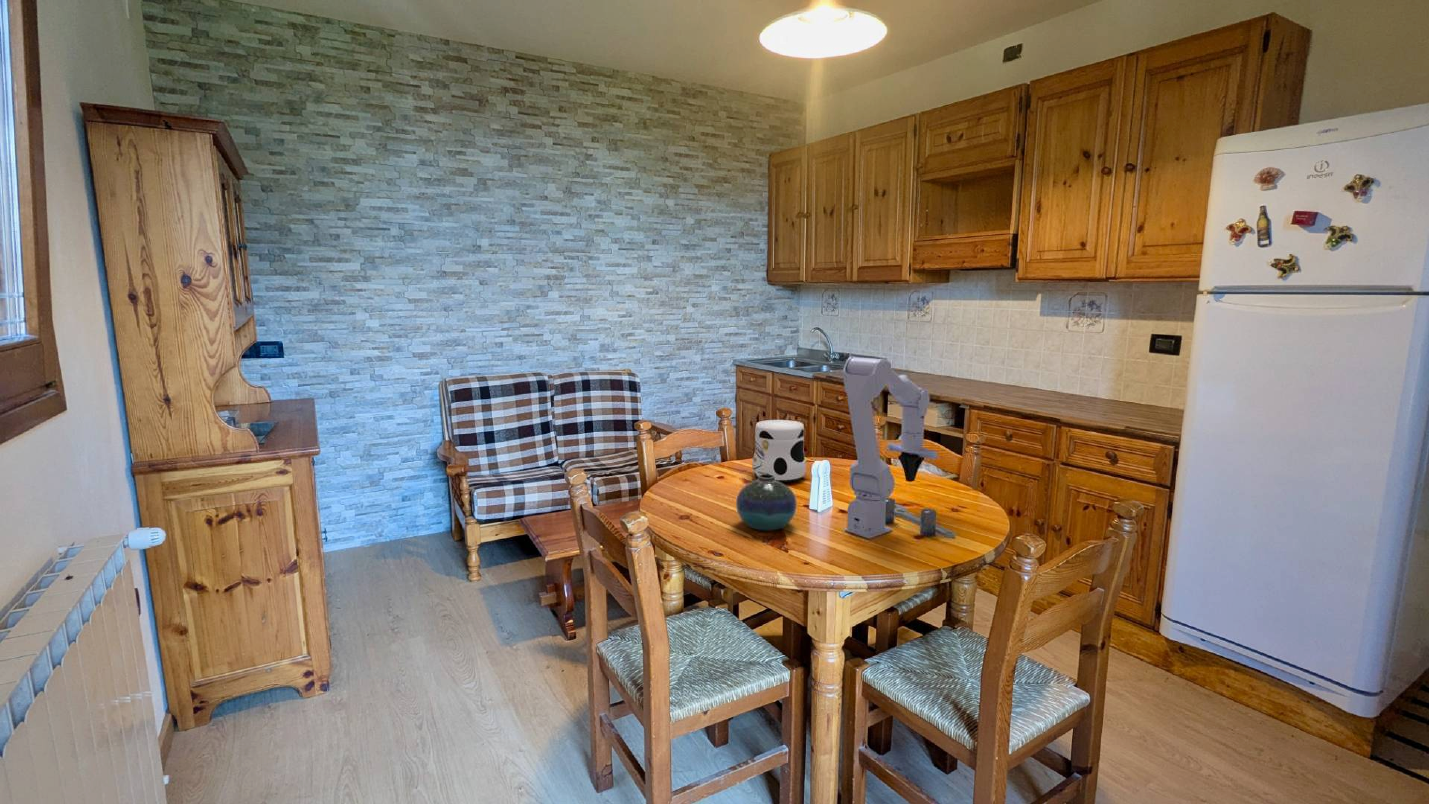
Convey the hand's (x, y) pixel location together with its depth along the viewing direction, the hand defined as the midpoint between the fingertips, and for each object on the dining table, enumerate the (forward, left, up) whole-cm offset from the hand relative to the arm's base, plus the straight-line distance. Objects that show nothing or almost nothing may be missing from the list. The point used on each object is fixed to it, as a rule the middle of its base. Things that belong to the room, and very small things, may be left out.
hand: (910, 480), depth 181 cm
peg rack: (-11, -7, -9) cm, 16 cm away
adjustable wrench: (-6, -6, -10) cm, 13 cm away
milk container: (-2, +47, -9) cm, 48 cm away
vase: (-37, +17, -9) cm, 42 cm away
